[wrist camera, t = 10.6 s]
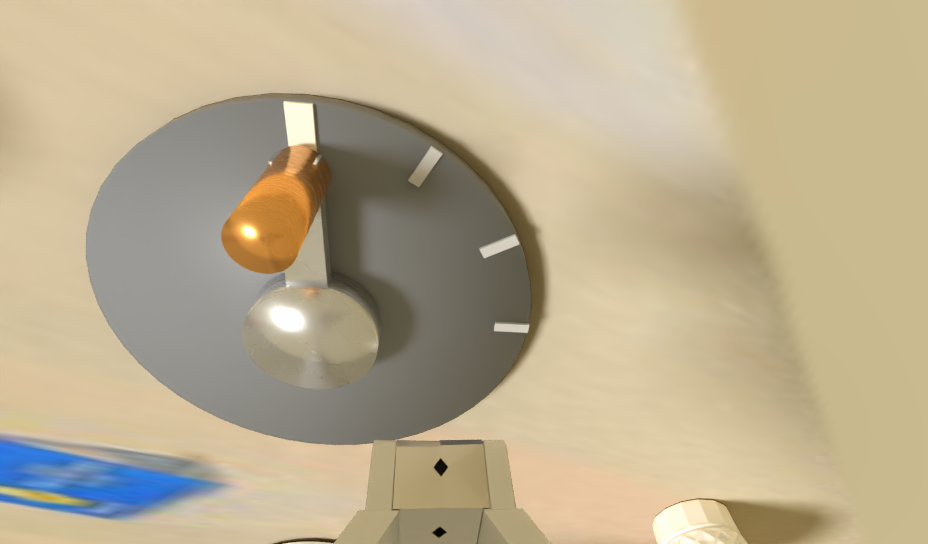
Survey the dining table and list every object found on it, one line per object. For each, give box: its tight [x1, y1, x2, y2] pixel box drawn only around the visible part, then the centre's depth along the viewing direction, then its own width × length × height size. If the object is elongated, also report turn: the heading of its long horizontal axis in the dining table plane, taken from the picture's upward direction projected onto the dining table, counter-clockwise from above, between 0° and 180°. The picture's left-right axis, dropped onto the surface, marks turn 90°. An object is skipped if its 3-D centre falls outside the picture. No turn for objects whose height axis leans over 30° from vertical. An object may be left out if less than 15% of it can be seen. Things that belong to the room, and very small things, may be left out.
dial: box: [221, 146, 382, 389], centre depth 23 cm, size 14×7×6 cm, turn 175°
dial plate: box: [86, 93, 531, 445], centre depth 28 cm, size 24×24×1 cm
